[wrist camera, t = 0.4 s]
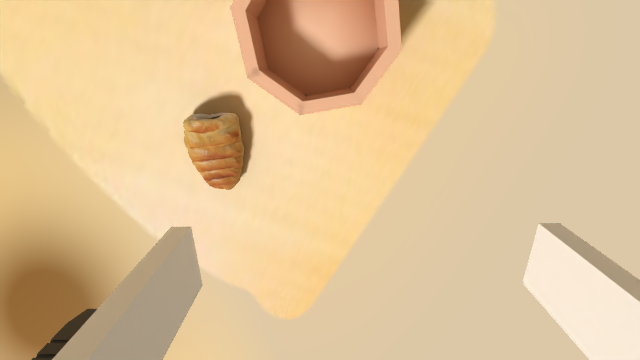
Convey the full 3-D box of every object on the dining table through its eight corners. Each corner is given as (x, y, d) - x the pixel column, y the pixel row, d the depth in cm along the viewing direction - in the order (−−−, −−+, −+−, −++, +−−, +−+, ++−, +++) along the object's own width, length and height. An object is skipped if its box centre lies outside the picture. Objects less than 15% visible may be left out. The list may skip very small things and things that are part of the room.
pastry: (254, 182, 40) (247, 194, 36) (203, 187, 40) (191, 199, 37) (239, 108, 36) (230, 113, 33) (183, 114, 37) (168, 120, 33)
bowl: (235, -31, 31) (216, -51, 26) (379, -61, 30) (392, -89, 25) (268, 112, 36) (258, 122, 31) (392, 91, 35) (405, 97, 30)
